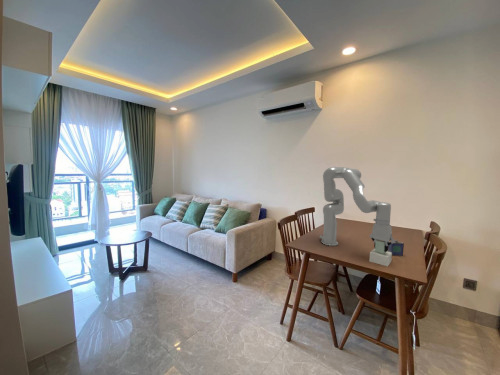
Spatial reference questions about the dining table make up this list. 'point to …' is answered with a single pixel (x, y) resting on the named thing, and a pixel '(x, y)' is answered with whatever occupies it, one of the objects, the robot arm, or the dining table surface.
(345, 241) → the dining table surface
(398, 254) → the flask
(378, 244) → the open sage green box
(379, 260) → the cream box
